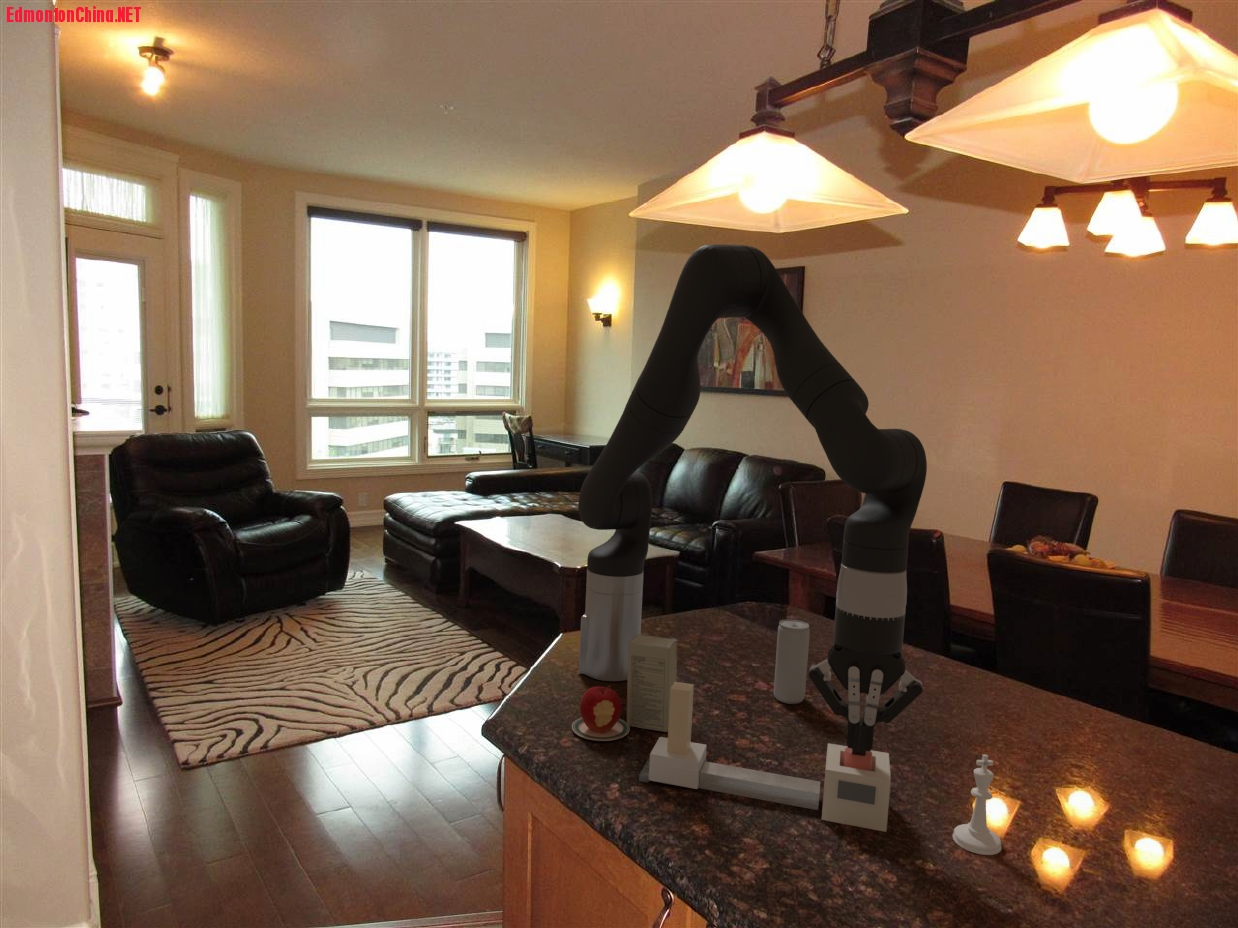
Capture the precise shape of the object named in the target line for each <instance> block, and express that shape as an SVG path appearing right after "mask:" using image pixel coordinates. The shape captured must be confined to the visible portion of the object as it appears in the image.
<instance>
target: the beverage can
mask: <svg viewBox="0 0 1238 928" xmlns="http://www.w3.org/2000/svg"><path fill="white" fill-rule="evenodd" d="M778 624H779V625H778V627H777V638H776V655H775V670H774V680H773V682H774V683H773V684H774V685H773V686H774V687H773V695H774V698H775V699H776V700H777V701H779V702H780V703H783V704H789V705H796V704H800V703H802V702H803V700H804V699H805V698H806V688H807V687H806V684H807V675H808V674H807V672H808V663H809V662H808V661H809V660H808V658H809V648H810V647H809V645H810V633H811V631H810V625H809V624H808V622H805V621H802V620H798V619H783V620H779V623H778Z"/></svg>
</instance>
